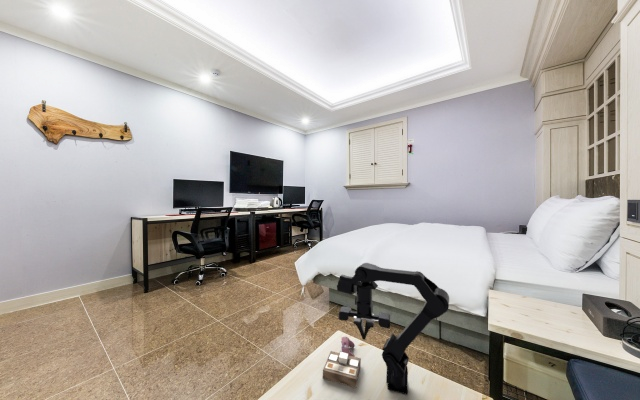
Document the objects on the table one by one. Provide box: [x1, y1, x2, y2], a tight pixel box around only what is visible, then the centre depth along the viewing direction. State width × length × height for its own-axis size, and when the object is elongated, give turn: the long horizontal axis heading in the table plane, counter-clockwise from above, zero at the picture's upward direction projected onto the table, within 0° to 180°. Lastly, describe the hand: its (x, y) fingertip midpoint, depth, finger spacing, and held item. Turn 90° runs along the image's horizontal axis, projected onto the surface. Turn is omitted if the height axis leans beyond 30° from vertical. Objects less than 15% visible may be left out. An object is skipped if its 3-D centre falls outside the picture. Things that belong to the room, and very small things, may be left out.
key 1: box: [328, 353, 338, 362], centre depth 87 cm, size 3×3×2 cm
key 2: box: [349, 359, 359, 368], centre depth 85 cm, size 3×3×2 cm
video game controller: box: [340, 336, 356, 357], centre depth 94 cm, size 10×5×7 cm, turn 175°
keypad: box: [322, 350, 362, 389], centre depth 84 cm, size 12×11×3 cm
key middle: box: [339, 351, 348, 365], centre depth 86 cm, size 3×3×2 cm
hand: (363, 338), depth 85 cm, fingers closed
